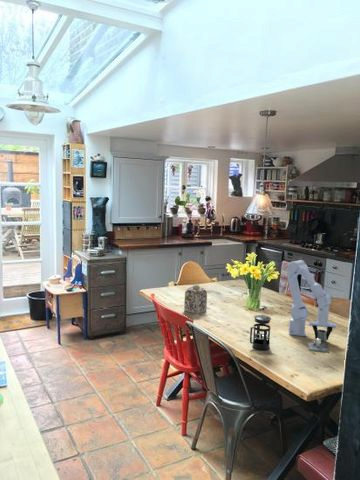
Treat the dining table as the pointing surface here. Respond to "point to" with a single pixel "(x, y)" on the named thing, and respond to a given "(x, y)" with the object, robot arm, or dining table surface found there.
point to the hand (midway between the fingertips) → (321, 338)
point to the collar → (322, 335)
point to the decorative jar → (195, 300)
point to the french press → (261, 339)
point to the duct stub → (318, 346)
